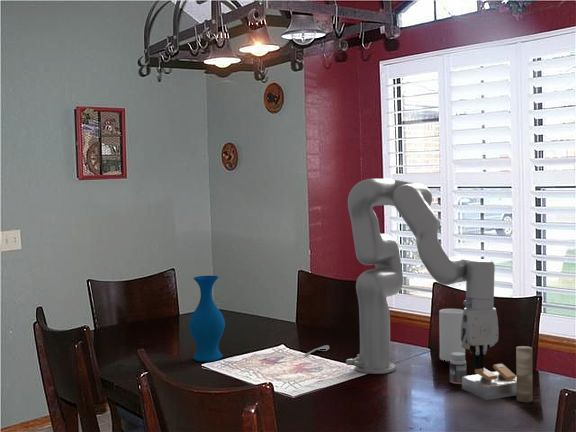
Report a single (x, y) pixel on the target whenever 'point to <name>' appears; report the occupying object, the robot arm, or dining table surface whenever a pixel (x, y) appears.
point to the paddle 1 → (486, 374)
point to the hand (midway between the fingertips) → (477, 367)
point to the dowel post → (524, 373)
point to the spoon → (318, 349)
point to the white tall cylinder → (450, 332)
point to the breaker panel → (489, 386)
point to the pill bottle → (457, 367)
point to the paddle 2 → (504, 371)
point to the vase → (207, 323)
